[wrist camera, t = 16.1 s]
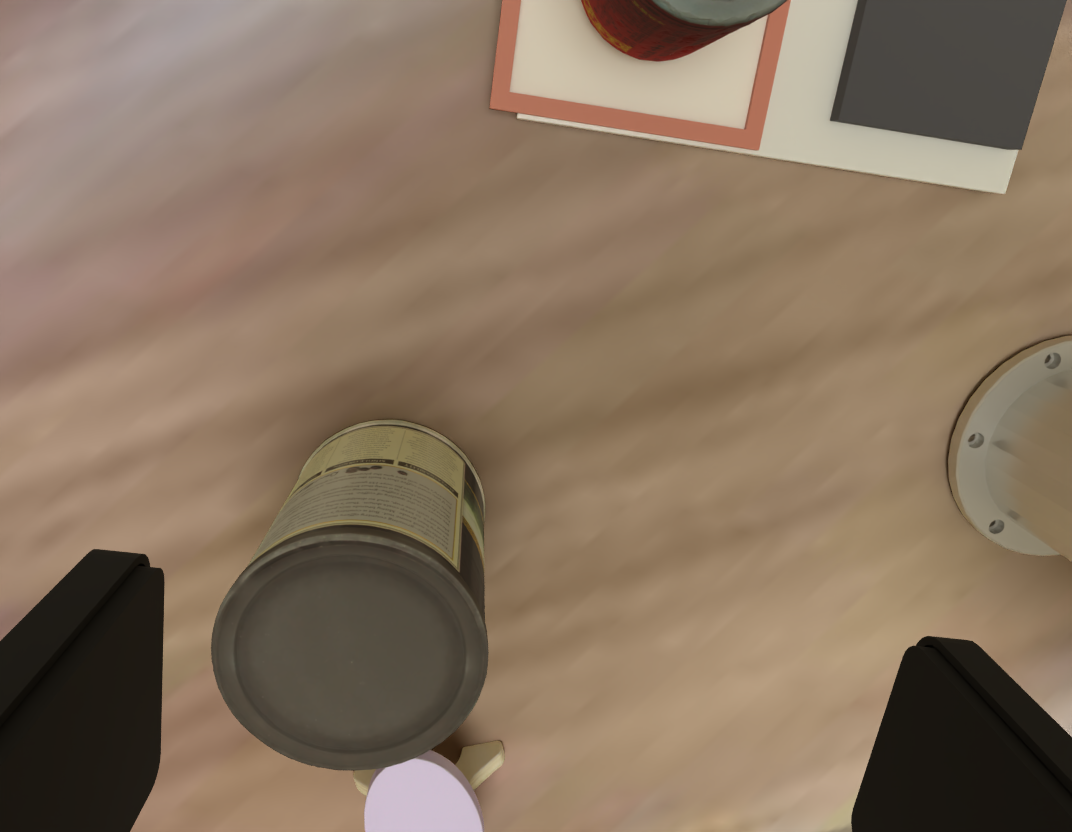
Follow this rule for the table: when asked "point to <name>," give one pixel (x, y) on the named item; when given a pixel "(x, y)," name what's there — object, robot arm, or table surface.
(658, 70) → the red bordered square panel
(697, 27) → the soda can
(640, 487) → the table surface
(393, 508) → the coffee can
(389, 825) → the toy table
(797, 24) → the board
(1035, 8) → the ink pad
